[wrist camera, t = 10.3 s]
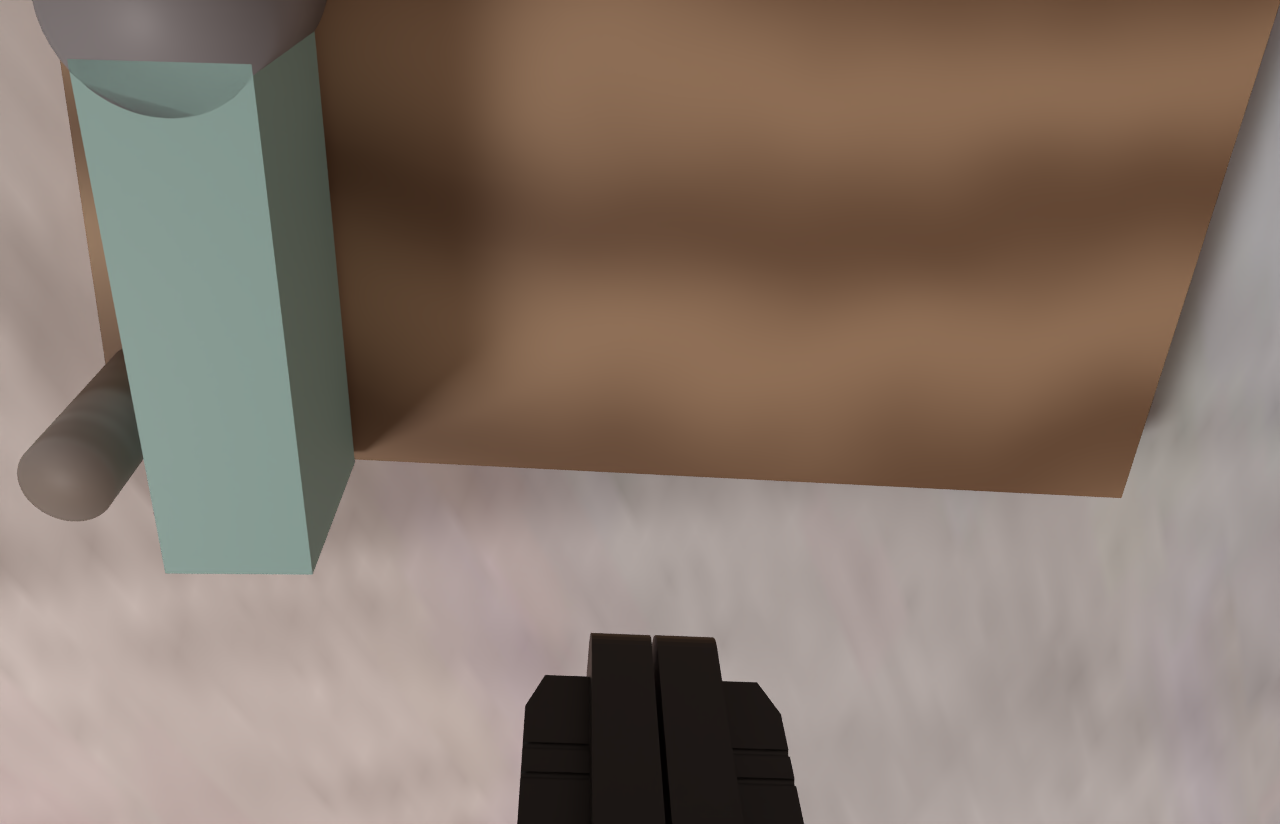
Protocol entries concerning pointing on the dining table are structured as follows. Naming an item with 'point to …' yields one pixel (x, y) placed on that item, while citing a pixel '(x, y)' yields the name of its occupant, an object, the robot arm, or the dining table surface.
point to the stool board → (748, 237)
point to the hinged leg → (218, 266)
